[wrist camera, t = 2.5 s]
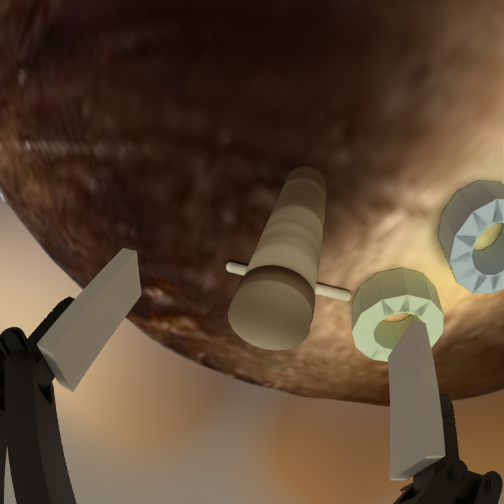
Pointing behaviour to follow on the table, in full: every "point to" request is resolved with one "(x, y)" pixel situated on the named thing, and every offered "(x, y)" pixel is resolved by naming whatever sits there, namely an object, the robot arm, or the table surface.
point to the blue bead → (474, 236)
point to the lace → (319, 288)
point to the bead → (393, 310)
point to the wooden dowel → (284, 267)
